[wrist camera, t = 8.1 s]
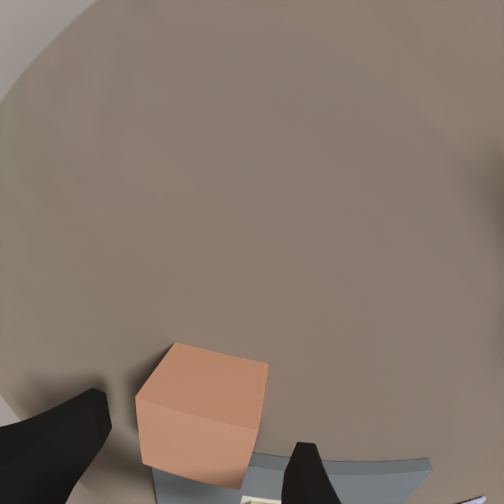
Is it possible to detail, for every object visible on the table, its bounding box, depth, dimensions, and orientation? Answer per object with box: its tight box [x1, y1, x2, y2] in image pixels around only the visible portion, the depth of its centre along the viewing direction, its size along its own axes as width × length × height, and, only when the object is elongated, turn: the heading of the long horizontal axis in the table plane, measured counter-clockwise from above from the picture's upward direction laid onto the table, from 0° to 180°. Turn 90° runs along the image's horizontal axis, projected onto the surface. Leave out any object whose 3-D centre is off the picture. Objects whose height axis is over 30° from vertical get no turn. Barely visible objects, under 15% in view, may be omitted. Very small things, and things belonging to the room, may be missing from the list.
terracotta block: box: [135, 342, 269, 490], centre depth 10 cm, size 4×4×4 cm
